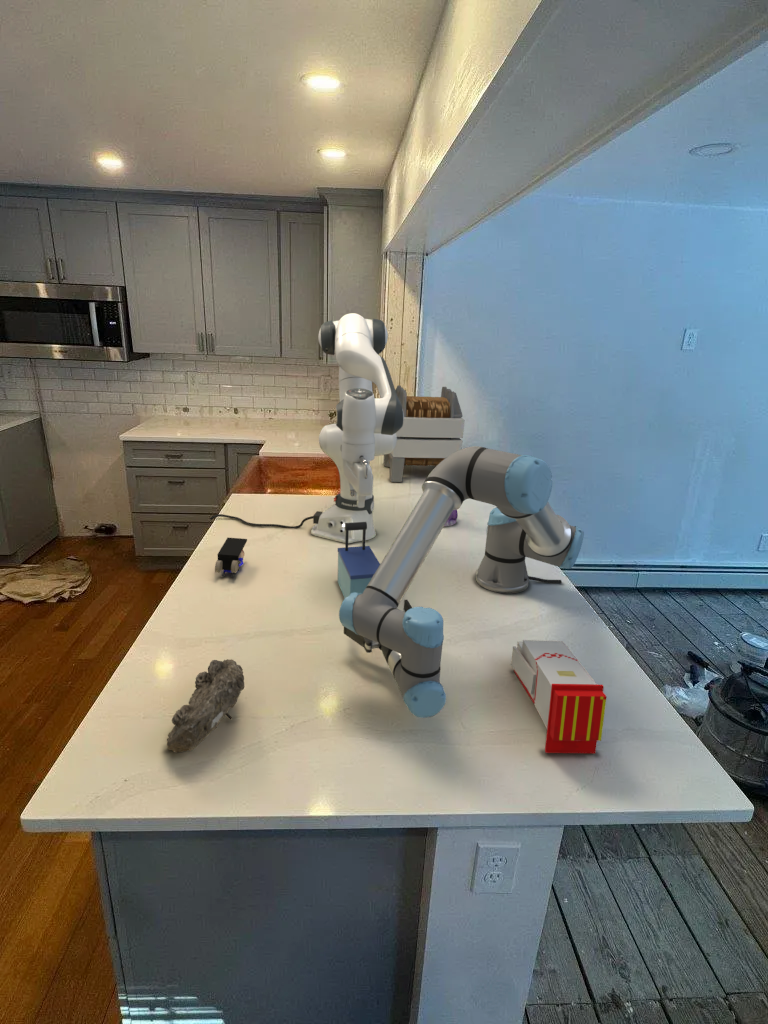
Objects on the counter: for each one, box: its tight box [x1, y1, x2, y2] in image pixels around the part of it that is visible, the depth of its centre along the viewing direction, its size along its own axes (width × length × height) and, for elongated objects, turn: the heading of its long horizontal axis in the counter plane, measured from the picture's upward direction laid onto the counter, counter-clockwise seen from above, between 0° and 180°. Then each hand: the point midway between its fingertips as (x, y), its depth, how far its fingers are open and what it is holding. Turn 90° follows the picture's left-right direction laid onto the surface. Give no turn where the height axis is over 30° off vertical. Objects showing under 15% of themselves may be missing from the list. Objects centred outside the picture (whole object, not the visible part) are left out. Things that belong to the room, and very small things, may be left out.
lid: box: [337, 522, 381, 579], centre depth 152 cm, size 18×9×9 cm, turn 15°
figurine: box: [444, 509, 459, 527], centre depth 210 cm, size 9×10×15 cm
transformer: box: [383, 384, 465, 483], centre depth 268 cm, size 34×33×41 cm
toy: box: [510, 639, 607, 754], centre depth 114 cm, size 12×13×30 cm
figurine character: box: [214, 537, 248, 578], centre depth 166 cm, size 7×8×15 cm
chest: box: [337, 552, 372, 599], centre depth 155 cm, size 17×9×9 cm, turn 15°
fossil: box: [166, 658, 245, 754], centre depth 106 cm, size 22×10×15 cm
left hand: (356, 501), depth 155 cm, fingers open, 8 cm apart
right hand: (378, 607), depth 137 cm, fingers open, 13 cm apart
